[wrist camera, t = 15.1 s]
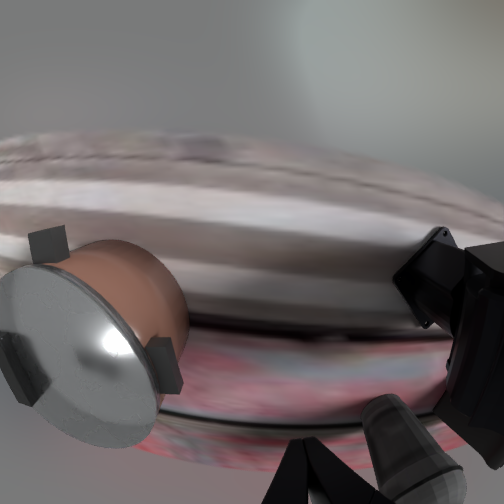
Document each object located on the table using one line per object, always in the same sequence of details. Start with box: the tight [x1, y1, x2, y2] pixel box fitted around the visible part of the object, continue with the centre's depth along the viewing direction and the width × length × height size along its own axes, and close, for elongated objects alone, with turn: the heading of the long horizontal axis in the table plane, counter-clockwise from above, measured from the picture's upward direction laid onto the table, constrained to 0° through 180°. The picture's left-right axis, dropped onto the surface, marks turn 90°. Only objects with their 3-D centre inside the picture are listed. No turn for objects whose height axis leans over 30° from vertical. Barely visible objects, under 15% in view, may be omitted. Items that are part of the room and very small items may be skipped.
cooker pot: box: [28, 225, 189, 409], centre depth 17 cm, size 13×16×8 cm
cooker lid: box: [0, 264, 160, 448], centre depth 12 cm, size 12×12×2 cm
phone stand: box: [433, 390, 504, 470], centre depth 17 cm, size 9×6×12 cm, turn 74°
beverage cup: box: [361, 394, 467, 504], centre depth 13 cm, size 7×7×20 cm
